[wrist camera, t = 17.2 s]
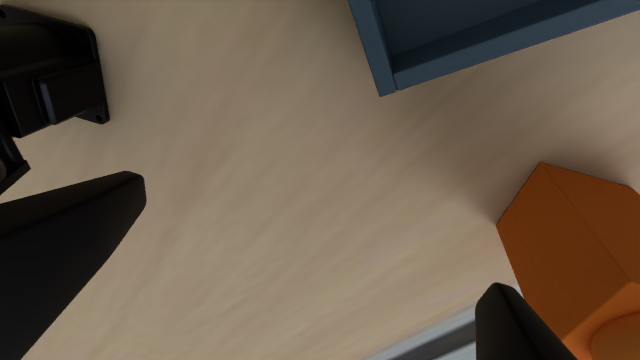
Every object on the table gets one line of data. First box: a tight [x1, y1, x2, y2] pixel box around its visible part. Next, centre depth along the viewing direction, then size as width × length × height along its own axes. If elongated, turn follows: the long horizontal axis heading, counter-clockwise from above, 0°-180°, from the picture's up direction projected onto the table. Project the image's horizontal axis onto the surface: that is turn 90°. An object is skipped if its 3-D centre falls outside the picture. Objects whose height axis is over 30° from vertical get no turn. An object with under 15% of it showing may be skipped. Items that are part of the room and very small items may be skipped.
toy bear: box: [496, 163, 640, 360], centre depth 15 cm, size 5×5×12 cm
